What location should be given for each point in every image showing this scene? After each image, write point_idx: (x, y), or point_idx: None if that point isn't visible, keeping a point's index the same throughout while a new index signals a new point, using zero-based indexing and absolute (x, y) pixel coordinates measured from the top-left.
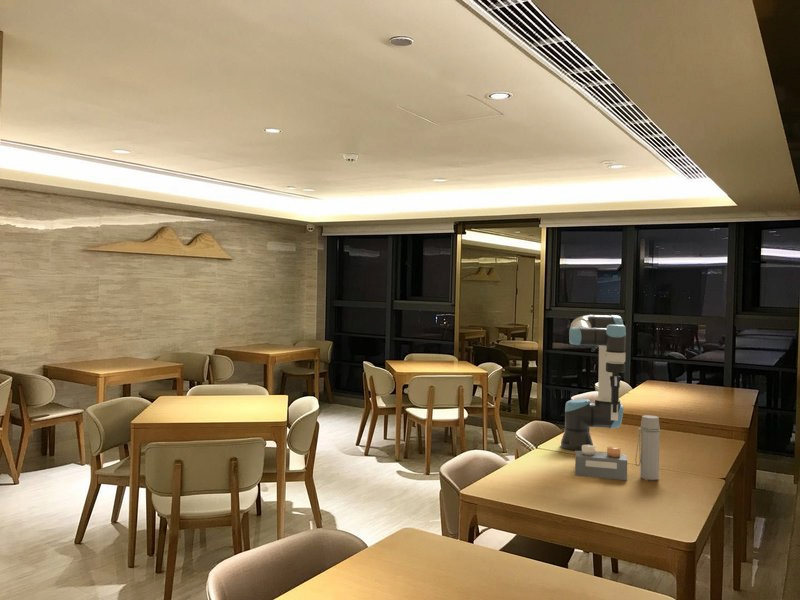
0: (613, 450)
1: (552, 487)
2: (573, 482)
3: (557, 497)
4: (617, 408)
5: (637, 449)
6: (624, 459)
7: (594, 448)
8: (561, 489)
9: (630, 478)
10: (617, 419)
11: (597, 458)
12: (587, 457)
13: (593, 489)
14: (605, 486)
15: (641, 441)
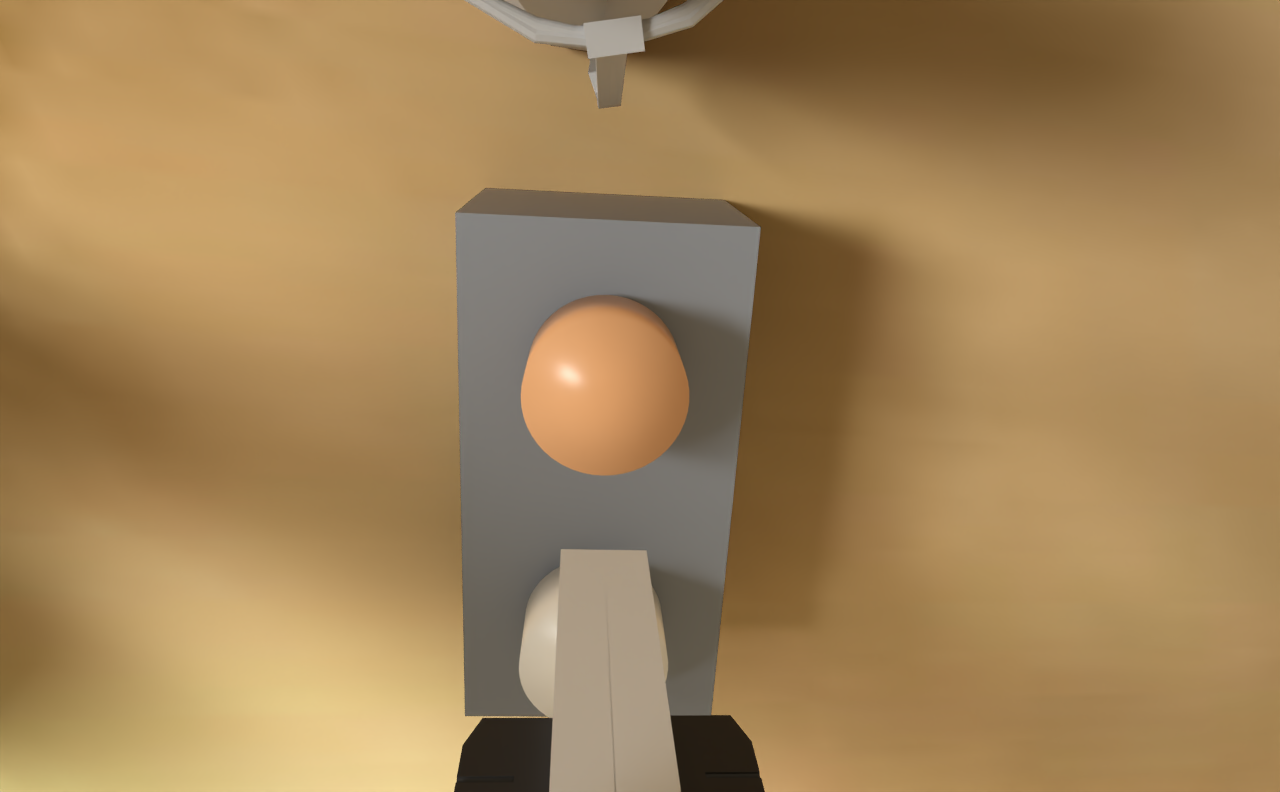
0: (686, 404)
1: (1032, 736)
2: (882, 616)
3: (1251, 702)
4: (676, 781)
5: (622, 85)
6: (721, 256)
7: None
8: (1072, 685)
9: (639, 157)
10: (645, 572)
11: (729, 530)
12: (720, 618)
13: (1045, 488)
14: (950, 398)
15: (619, 12)
